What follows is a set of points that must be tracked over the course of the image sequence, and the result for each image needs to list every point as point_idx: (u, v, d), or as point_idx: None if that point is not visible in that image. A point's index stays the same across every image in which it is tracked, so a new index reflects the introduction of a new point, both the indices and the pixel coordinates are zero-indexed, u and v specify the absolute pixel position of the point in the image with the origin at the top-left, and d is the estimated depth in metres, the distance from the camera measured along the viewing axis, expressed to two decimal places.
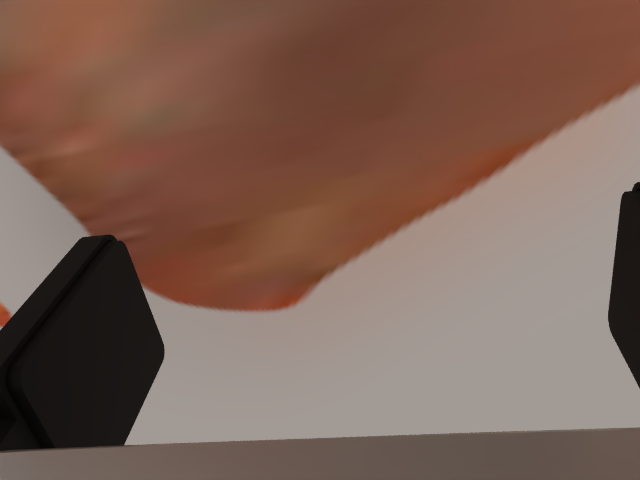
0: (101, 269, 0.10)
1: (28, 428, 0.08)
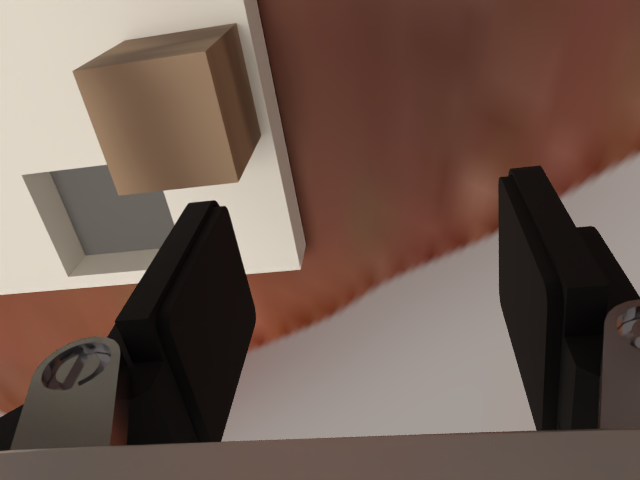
0: (214, 230, 0.11)
1: (171, 370, 0.09)
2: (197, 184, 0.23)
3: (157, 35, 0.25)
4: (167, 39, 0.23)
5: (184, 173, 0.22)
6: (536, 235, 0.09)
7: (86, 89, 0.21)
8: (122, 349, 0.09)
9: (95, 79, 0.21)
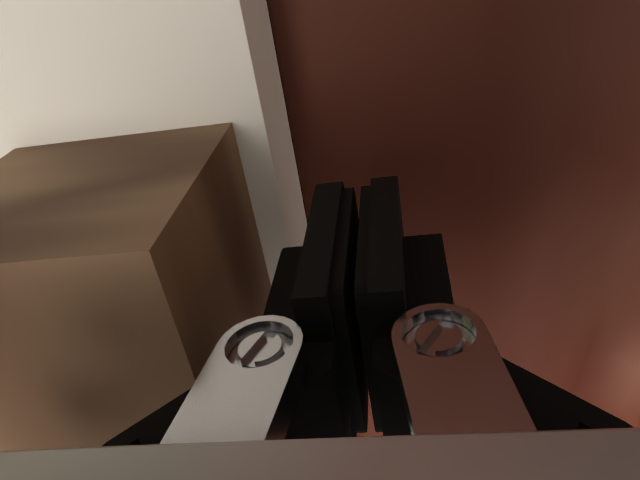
0: (351, 211, 0.10)
1: (338, 351, 0.09)
2: None
3: (76, 141, 0.13)
4: (88, 162, 0.11)
5: None
6: (367, 243, 0.09)
7: None
8: None
9: None
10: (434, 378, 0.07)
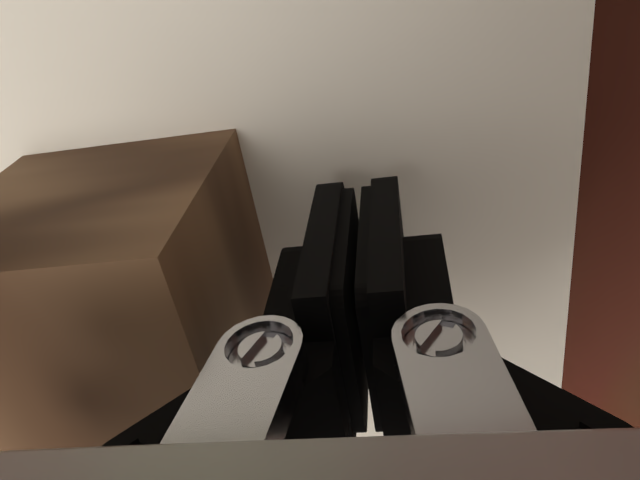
0: (351, 211, 0.11)
1: (338, 350, 0.09)
2: None
3: (83, 148, 0.13)
4: (95, 170, 0.11)
5: None
6: (367, 243, 0.09)
7: None
8: None
9: None
10: (434, 378, 0.07)
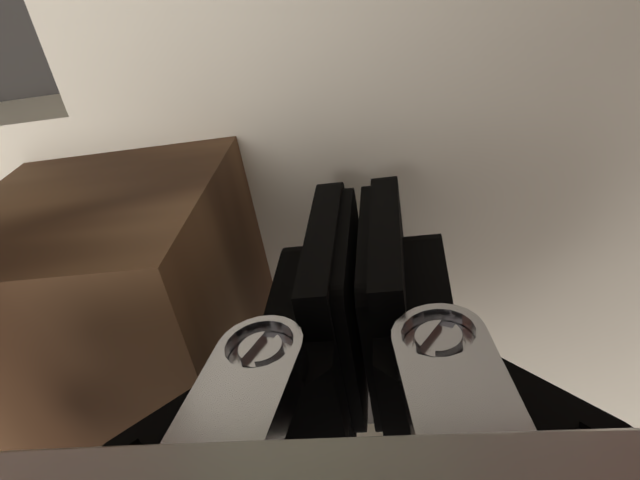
0: (351, 211, 0.10)
1: (339, 351, 0.09)
2: None
3: (84, 156, 0.13)
4: (95, 178, 0.11)
5: None
6: (367, 243, 0.09)
7: None
8: None
9: None
10: (434, 378, 0.07)
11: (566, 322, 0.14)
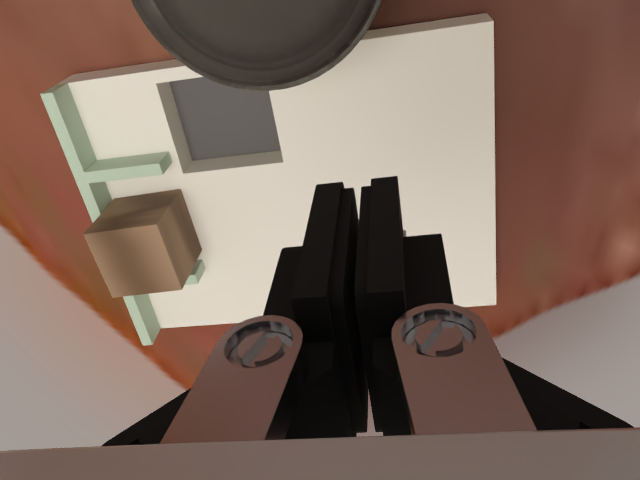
0: (351, 211, 0.10)
1: (338, 350, 0.09)
2: (158, 291, 0.38)
3: None
4: (138, 203, 0.39)
5: (150, 285, 0.38)
6: (367, 243, 0.09)
7: (91, 243, 0.37)
8: None
9: (96, 238, 0.37)
10: (434, 378, 0.07)
11: (449, 231, 0.40)
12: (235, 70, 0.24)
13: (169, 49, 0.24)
